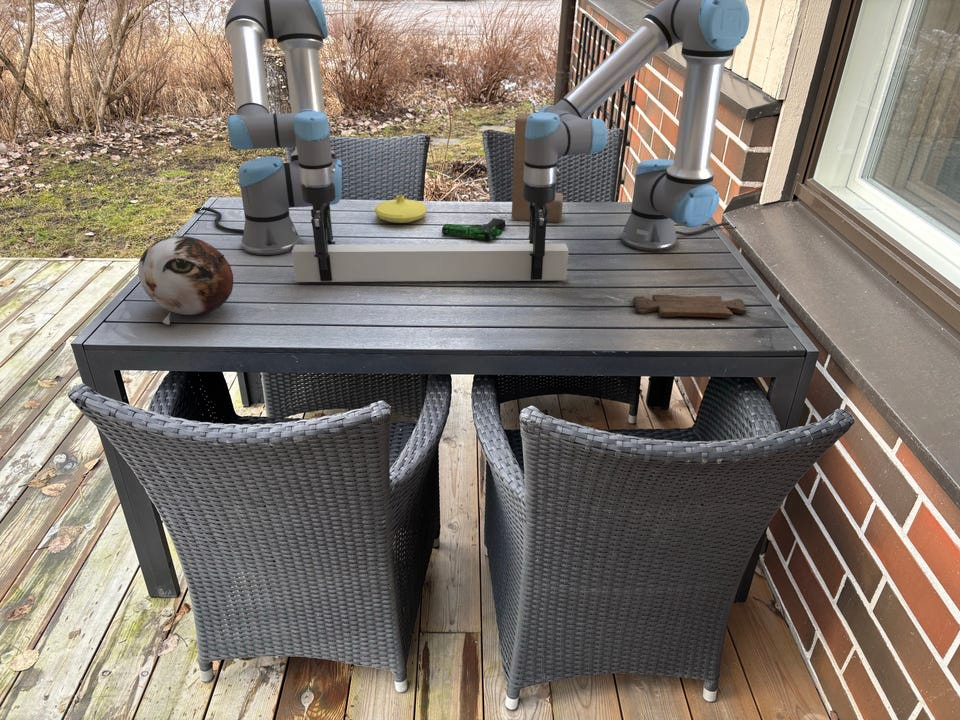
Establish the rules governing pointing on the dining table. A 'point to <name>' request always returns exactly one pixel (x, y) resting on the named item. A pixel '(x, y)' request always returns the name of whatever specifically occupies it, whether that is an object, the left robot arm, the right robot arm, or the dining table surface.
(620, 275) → the dining table surface
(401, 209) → the yellow pattypan squash
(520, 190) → the decorative block
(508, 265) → the beam
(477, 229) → the handgun
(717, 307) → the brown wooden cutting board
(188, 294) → the eye print balloon
